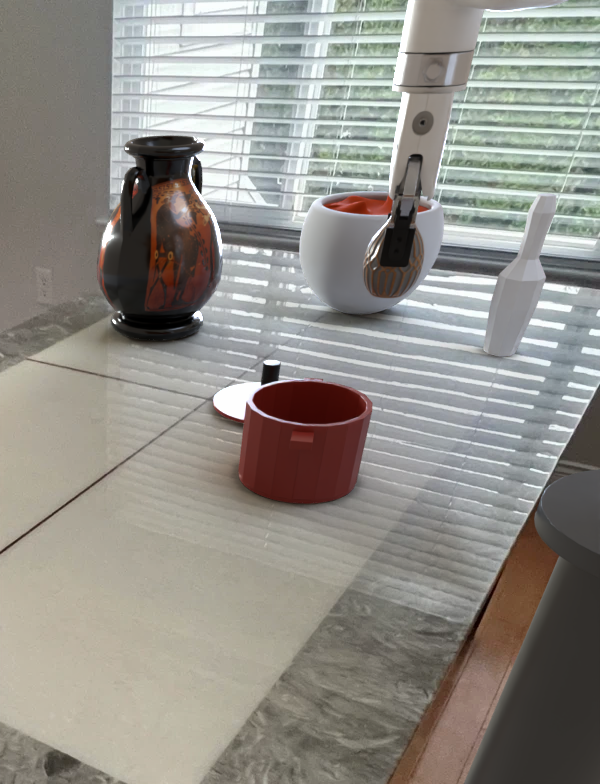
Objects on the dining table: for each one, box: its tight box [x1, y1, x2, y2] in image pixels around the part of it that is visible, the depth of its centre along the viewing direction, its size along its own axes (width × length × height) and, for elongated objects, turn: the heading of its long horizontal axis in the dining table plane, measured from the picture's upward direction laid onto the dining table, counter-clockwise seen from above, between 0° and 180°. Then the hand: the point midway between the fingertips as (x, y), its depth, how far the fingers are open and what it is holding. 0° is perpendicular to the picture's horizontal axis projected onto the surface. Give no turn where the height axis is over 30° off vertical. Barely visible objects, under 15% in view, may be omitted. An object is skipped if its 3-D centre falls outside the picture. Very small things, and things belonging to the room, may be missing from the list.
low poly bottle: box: [482, 192, 557, 357], centre depth 129 cm, size 6×6×22 cm
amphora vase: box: [96, 134, 224, 342], centre depth 141 cm, size 22×22×28 cm
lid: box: [212, 359, 282, 424], centre depth 120 cm, size 15×15×7 cm
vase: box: [362, 216, 424, 298], centre depth 101 cm, size 7×7×9 cm
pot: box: [298, 190, 445, 315], centre depth 150 cm, size 24×24×18 cm
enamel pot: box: [237, 377, 374, 505], centre depth 102 cm, size 14×20×10 cm
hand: (394, 256), depth 101 cm, fingers closed on vase, 6 cm apart
